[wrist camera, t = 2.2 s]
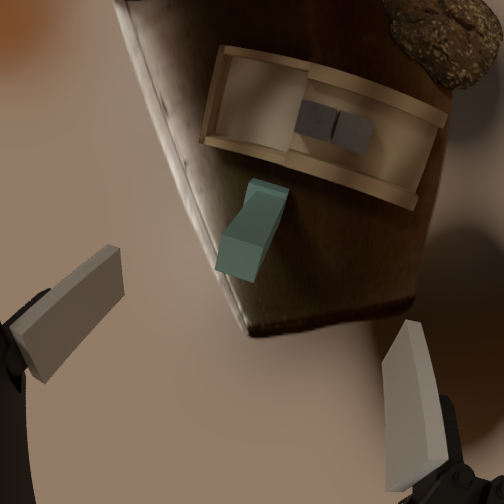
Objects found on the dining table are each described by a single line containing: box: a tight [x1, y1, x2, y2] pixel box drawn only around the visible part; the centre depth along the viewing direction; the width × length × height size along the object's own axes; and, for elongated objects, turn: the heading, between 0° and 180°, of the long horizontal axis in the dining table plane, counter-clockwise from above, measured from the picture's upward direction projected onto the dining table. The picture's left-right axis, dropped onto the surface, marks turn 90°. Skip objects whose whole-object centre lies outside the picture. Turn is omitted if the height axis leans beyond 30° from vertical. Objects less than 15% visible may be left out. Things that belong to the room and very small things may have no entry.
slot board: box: [199, 45, 448, 211], centre depth 27 cm, size 22×10×4 cm, turn 77°
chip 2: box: [331, 110, 375, 155], centre depth 25 cm, size 3×3×3 cm
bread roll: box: [383, 0, 503, 91], centre depth 18 cm, size 13×12×5 cm
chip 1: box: [293, 99, 337, 143], centre depth 25 cm, size 3×3×3 cm
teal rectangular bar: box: [215, 178, 290, 283], centre depth 28 cm, size 4×4×13 cm
